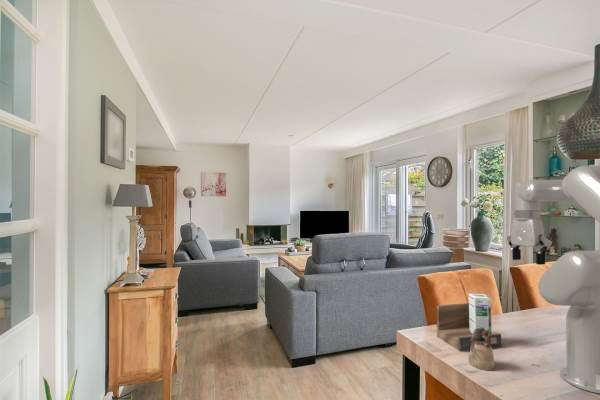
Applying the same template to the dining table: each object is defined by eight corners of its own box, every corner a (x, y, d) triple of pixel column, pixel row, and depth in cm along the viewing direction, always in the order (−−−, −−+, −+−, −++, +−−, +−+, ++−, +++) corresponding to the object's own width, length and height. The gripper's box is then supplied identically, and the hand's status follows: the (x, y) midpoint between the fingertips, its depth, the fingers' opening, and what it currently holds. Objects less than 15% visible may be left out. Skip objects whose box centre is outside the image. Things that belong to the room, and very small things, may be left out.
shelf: (502, 347, 114) (501, 313, 114) (460, 351, 110) (460, 317, 111) (474, 332, 127) (474, 302, 127) (436, 336, 123) (436, 305, 124)
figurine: (480, 358, 106) (480, 322, 106) (499, 368, 99) (499, 329, 99) (463, 361, 104) (463, 324, 104) (482, 372, 97) (482, 332, 97)
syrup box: (475, 336, 116) (474, 297, 116) (469, 330, 122) (468, 292, 122) (491, 337, 115) (491, 297, 115) (485, 331, 121) (484, 293, 121)
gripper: (499, 215, 125) (500, 258, 124) (541, 216, 108) (542, 266, 107) (515, 214, 126) (516, 257, 126) (559, 216, 109) (560, 265, 109)
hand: (528, 261), depth 117 cm, fingers open, 9 cm apart
